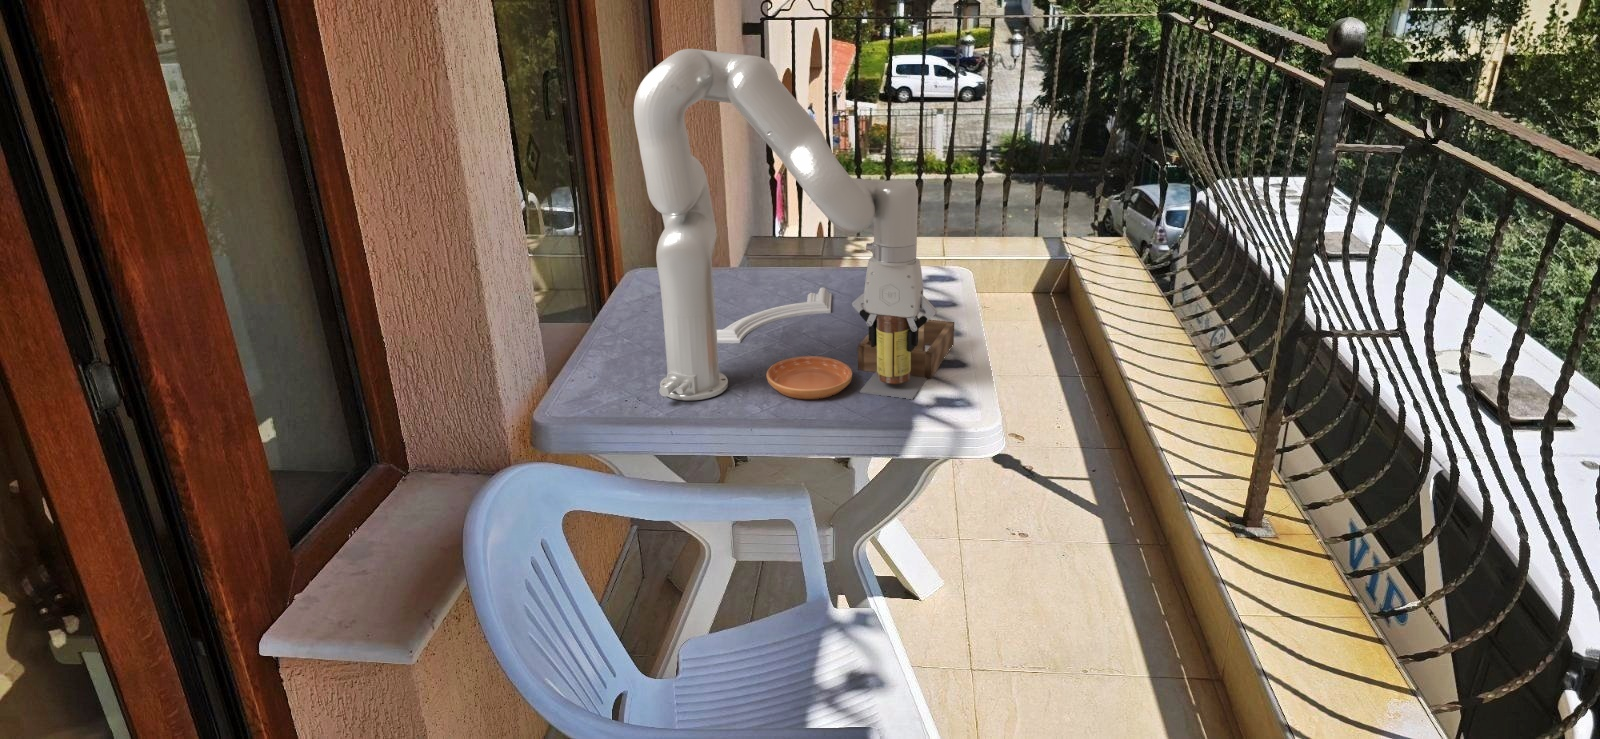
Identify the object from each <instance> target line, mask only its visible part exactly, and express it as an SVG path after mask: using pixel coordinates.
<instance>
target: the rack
mask: <svg viewBox="0 0 1600 739" xmlns="http://www.w3.org/2000/svg"><path fill="white" fill-rule="evenodd" d="M954 334H955V321H946V320H938V319H937V320H936V319H929V320H928V321H927V322H926V323H925V324H924V344H925V345H929V348H928V349H927V351H926V350H925V351H919V350H912V351H911V371H910V376H917V377H925V378H927V379H928V380H931V379H932V378H933V376H934V375H935V373H937V370H938V369H939V368H940V366H941V365H940V364H942V363H943V362H942V361H944V360H945V359H944V357H945V356H946V354H947V352H948V351H949V349H950V348H951V347H952V345H953V346H954V342H955V341H954V340H955V339H954V338H955V335H954ZM952 348H953V347H952ZM952 348H951V349H952ZM949 352H950V351H949ZM947 355H948V354H947ZM946 357H947V356H946ZM946 357H945V358H946ZM943 359H944V360H943ZM941 362H942V363H941ZM857 370H858V371H863V372H872V373H875V372H876V371H877V345H876V346H875V347H871V341H869V333H868V334H867V335H866V336H865V337H864V338H863V339H862V341H860V343H859V344H858V345H857ZM927 379H926V380H927Z"/></svg>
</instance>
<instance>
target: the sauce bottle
mask: <svg viewBox="0 0 1600 739" xmlns="http://www.w3.org/2000/svg"><path fill="white" fill-rule="evenodd" d="M909 330H910V326H909V323H908V321H907V318H899V317H896V316H891V315H877V327H876V334H877V373H878V378H879V380H880V381H882V382H883V383H888V384H902V383H905V382H907V381H908V380H909V379H910V371H911V352H908V351H907V336H908V331H909Z"/></svg>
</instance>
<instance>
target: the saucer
mask: <svg viewBox="0 0 1600 739" xmlns="http://www.w3.org/2000/svg"><path fill="white" fill-rule="evenodd" d="M852 379H853V371H852V368H851V367H850V366H849V365H848V364H846V363H844V362H842V361H841V360H838V359H834V358H832V357H826V356H817V355H815V356H813V355H807V356H806V355H803V356H795V357H789V358H786V359H782V360H780V361H778V362H775V363H774V364H772V365H771V366H769V368H768V369H767V371H766V381H767V382H768V384H769V385H770V386H771V387H772V388H773V389H774V390H776V391H777V392H779V394H782V395H783V396H786V397H789V398H792V399H798V400H820V399H825V398H830V397H832V395H833V396H835V395H837V394H839V393H840V392H841V391H843V390H844V389H845V388H847V387H848V385H849V384H850V383H851V382H852ZM819 398H820V399H819Z"/></svg>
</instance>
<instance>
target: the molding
mask: <svg viewBox="0 0 1600 739" xmlns="http://www.w3.org/2000/svg"><path fill="white" fill-rule="evenodd" d="M831 311H832V293H829V290H827V288H826V287H820V288H819V290H818V292H817V293H815V292H810V293H808V294H807V300H806V301H804V302H797V303H790V304H784V305H781V306H776V307H771V308H768V309H765V310H761V311H758V312H755V313H752V314H750V315H747V316H745V317H742V318H740V319H738V320H737V321H734V322H733V323H731V324H729V325H728V326H726V327H725V328H723V329H717V344H741V342H742V340H743V339H744V338H745V337H746V336H747V335H748V334H749V333H751V332H753V331H754V330H755V329H757V328H760V327H762V326H764V325H767V324H769V323H773V322H776V321H780V320H784V319H788V318H792V317H798V316H807V315H808V316H809V315H817V314H831Z"/></svg>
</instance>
